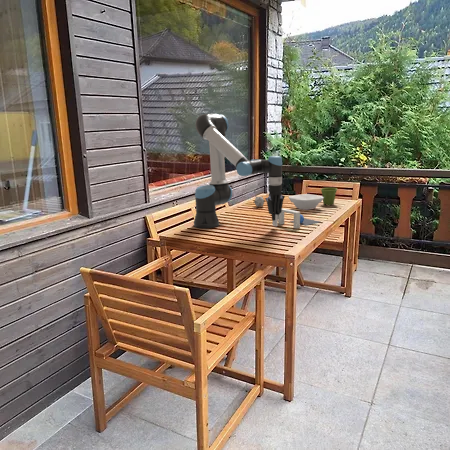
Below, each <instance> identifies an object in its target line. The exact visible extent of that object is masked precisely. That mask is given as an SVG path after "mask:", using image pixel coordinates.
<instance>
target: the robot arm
mask: <svg viewBox="0 0 450 450" xmlns="http://www.w3.org/2000/svg"><path fill="white" fill-rule="evenodd" d="M194 126H195V129H196V131H197V133H198V134H199V136H200V137H202V139H203V140H207V141H208V144H209V145H208V146H209V158H210V174H211V175H210V176H211V180H210V182H209V183H208V184H205V185H200V186H198V187H196V188H195V190H194V192H195V193H194V196H195V197H194V198H195V217H194V220H193V227H195V228H197V229H211V228H217V227H219V226H220V221H219V217H218V215H217V209H216V207H217V206H221V205H225V204H226V203H228V202H230V200H232V197H233V189H232V187H231V186H230V185H229V181H228V180H227V179H226V178H227V177H226V167H225V166H226V165H225V163H226V162H225V158H226V159H227V160H228V161H229V162H230V163H231V164H232V165H234V167H235V171H236V172H237V174H238V175H239V176H241V177H247V176H251V175H257V174H267V175H268V176H267V177H268V178H267V179H268V183H267V184H268V187H267V189H268V197H265V198H264V200H265V202H266V204H267V211H268V214H269V215H271V221H272V227H278V225H279V224H278V215H279V214H280V213H281V211H282V208H283V204H284V200H285V198H286V196H285V195H283V194H282V191H283V185H282V184H283V157H281V155H271V156H270V155H269V156H268V158H267V159H258V158H254V159H250V160H249V159H248V158H247V157H246V156H245V155H244V154H243V153H242V152H241V151H240V150H239V149H238V148H237V147H235V145H234V144H232V143H231V142H230V141H229V140H228V139H227V138H226V133H227V132H228V130H229V128H230V127H229V120H228V118H227V117H226V116H225V115H224V114H221V113H203V114H201V115H198V117H197V118H196V120H195V125H194Z"/></svg>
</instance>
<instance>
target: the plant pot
mask: <svg viewBox="0 0 450 450" xmlns="http://www.w3.org/2000/svg"><path fill="white" fill-rule="evenodd" d="M320 191H321V196H322V197H324V198H323V200H322V201H323V205H325V204H327V205H326V206H333V205H335V201H336V200H335V199H336V194H337V191H338V188H337V187H322V188H320ZM332 204H333V205H332Z"/></svg>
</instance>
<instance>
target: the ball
mask: <svg viewBox="0 0 450 450" xmlns="http://www.w3.org/2000/svg"><path fill="white" fill-rule="evenodd" d="M304 218H305V217H304V215H303V214H301V213H300V223H302V222H303V221H304Z"/></svg>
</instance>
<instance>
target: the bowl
mask: <svg viewBox="0 0 450 450" xmlns="http://www.w3.org/2000/svg"><path fill="white" fill-rule="evenodd" d="M323 198H324V197H322V195H317V194H310V193H302V194H295V195H289V196H288V200H290V202H291V203H293V204H294V207H295V208H297V209H298V210H304V211H308V210H313V209H316V208H317V206H318V205H319V204H320V203H322V201H323Z"/></svg>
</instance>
